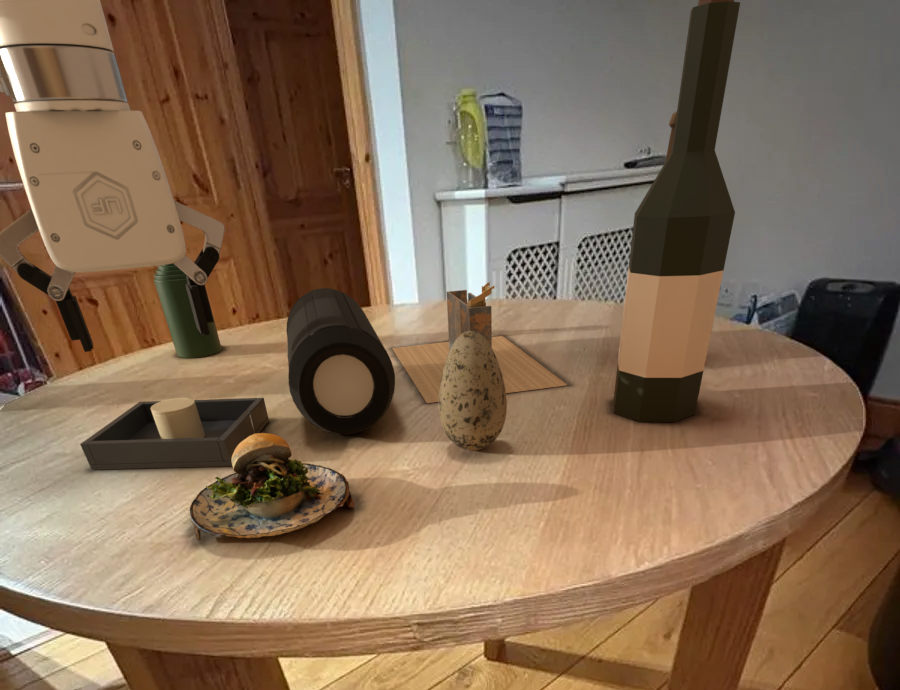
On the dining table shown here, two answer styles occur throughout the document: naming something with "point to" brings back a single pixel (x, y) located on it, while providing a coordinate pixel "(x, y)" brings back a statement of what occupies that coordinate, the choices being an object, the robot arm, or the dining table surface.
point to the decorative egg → (472, 393)
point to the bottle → (183, 315)
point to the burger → (267, 492)
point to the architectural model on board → (477, 317)
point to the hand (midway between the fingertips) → (148, 339)
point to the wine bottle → (680, 240)
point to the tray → (142, 447)
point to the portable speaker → (337, 363)
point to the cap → (177, 419)
